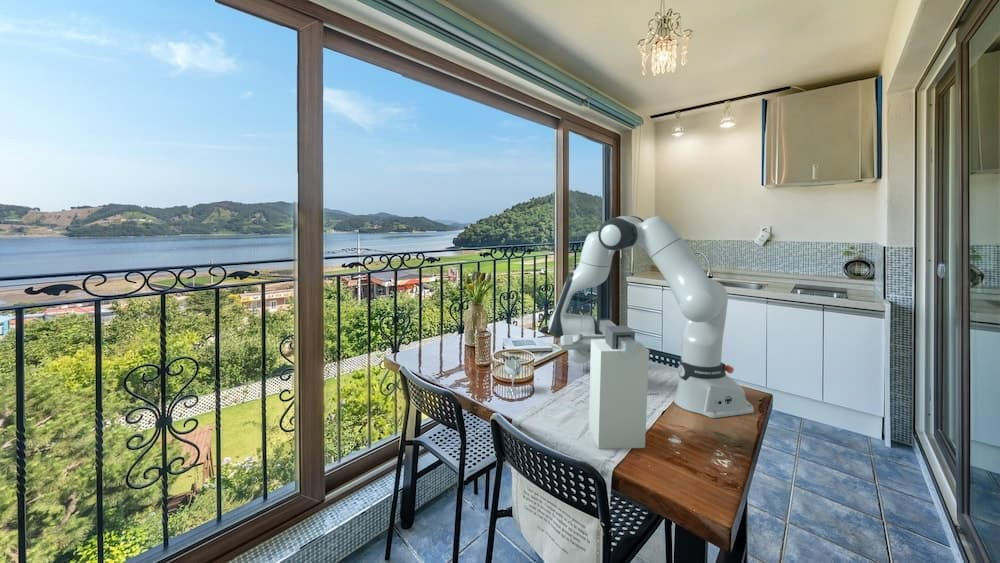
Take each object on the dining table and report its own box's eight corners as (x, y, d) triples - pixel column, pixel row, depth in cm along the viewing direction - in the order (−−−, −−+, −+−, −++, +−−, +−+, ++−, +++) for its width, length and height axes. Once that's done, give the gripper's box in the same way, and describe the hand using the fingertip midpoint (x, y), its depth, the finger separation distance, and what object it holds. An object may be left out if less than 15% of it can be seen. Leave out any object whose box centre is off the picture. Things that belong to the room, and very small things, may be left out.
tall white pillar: (631, 427, 111) (635, 323, 107) (644, 447, 102) (650, 333, 97) (588, 428, 111) (591, 323, 107) (598, 448, 101) (601, 334, 97)
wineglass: (519, 396, 133) (519, 361, 131) (503, 394, 134) (502, 360, 132) (522, 388, 138) (522, 355, 136) (506, 387, 139) (505, 355, 138)
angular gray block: (608, 329, 117) (608, 318, 116) (638, 356, 93) (638, 343, 93) (597, 329, 117) (597, 318, 116) (624, 356, 93) (625, 343, 93)
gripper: (556, 337, 140) (561, 327, 128) (613, 336, 141) (625, 326, 128) (557, 355, 138) (563, 346, 125) (615, 354, 138) (627, 345, 126)
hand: (595, 336), depth 127 cm, fingers open, 8 cm apart
